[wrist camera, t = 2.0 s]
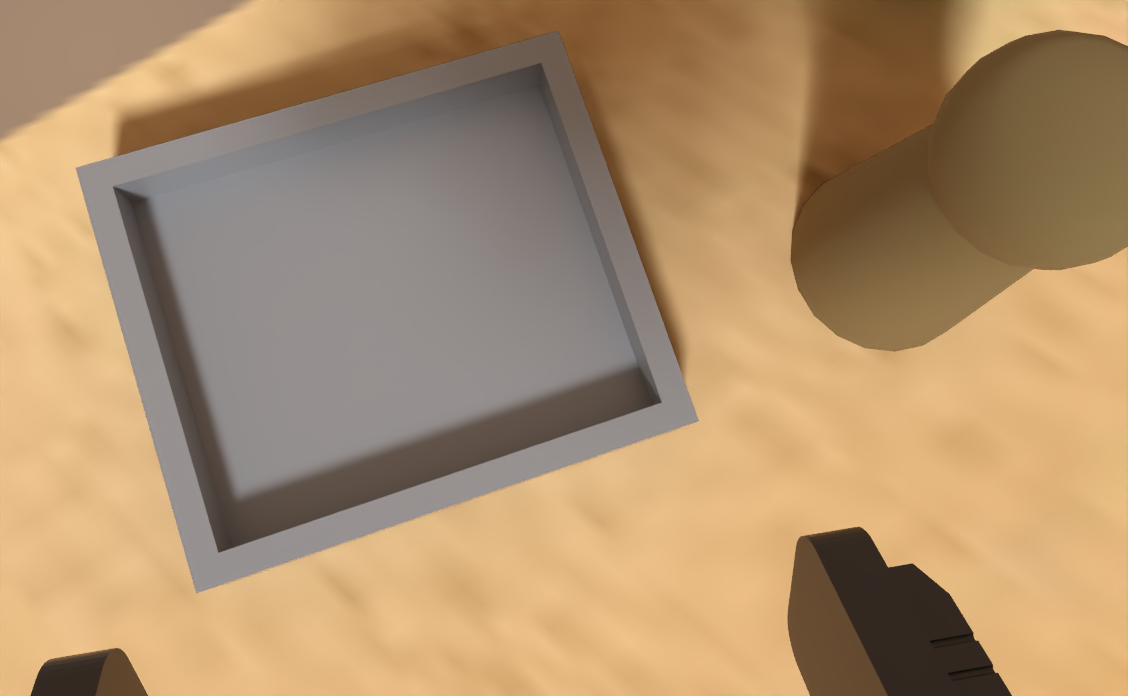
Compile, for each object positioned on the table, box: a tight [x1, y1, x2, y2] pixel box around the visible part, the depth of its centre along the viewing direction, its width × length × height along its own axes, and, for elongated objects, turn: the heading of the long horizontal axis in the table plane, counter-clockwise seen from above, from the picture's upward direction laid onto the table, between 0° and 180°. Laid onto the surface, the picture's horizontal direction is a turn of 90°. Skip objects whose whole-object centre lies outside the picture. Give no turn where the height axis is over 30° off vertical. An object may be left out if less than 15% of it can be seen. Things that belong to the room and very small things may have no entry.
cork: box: [791, 30, 1128, 351], centre depth 25 cm, size 6×6×11 cm
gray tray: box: [76, 31, 699, 593], centre depth 28 cm, size 14×12×2 cm
